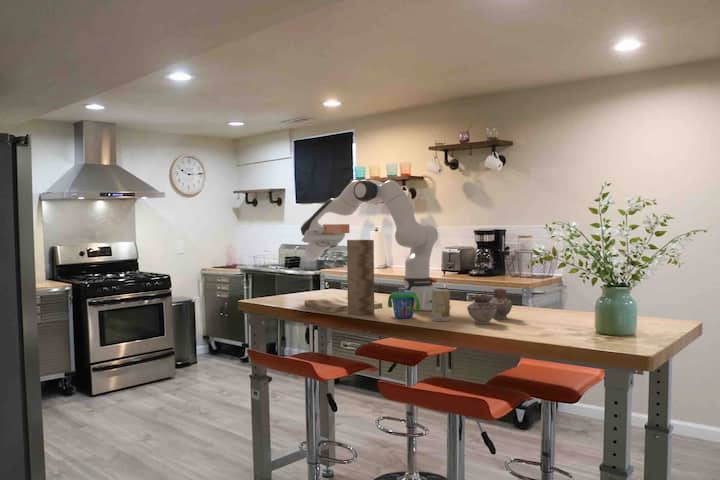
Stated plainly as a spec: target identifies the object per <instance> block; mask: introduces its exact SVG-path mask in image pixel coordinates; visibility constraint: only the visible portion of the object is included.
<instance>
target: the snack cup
mask: <svg viewBox="0 0 720 480" xmlns="http://www.w3.org/2000/svg"><path fill="white" fill-rule="evenodd" d="M415 302H416V307H415V310H414V303H415ZM387 307H388V308H389V309H391V308H392V307H393V308H392V309H393V314H394V317H395V318H398V319H411V318H412V317H413V316H414V311H416V312H418V311H420V310H419V309H420V303H419V299H418V297H417V296H416V293H415V292H405V291H394V292H390V294H389V296H388V300H387Z"/></svg>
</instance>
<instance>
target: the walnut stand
mask: <svg viewBox="0 0 720 480" xmlns="http://www.w3.org/2000/svg"><path fill="white" fill-rule="evenodd" d="M374 243H375V242H374V239H347V240H346V250H347V251H346V255H347V256H346V260H347V263H346V264H347V266H346V268H347V270H346V271H347V272H346V273H347V275H346V276H347V281H346V282H347V283H346V284H347V285H346V286H347V297H348V310H347V313H348V314H352V315H355V316H366V315H367V316H368V315H375V308H374V301H375V252H374V251H375V249H374V248H375V247H374V246H375V244H374Z"/></svg>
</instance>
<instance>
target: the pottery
mask: <svg viewBox="0 0 720 480" xmlns="http://www.w3.org/2000/svg"><path fill="white" fill-rule="evenodd" d="M493 292H494V293H493V294H494V297H492V299H491V295H486V294H475V295H473V296H474V297H473V301H474V302H472V303H470V304H469V305H468V306H467V307H466V309H467V312H468V315H469V316H470V317H471V319H473V321H474V324H477V325H489V324H490V321H491V320H492V319H496V320H507V319H508V317H507V315H509V314H510V312H511V310H512V308H513V304H514V303H513V301H511V300H510V299H508V298H507V297H506V295H507V294H506V293H507V289H506V288H494V289H493Z"/></svg>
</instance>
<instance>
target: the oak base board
mask: <svg viewBox="0 0 720 480" xmlns="http://www.w3.org/2000/svg"><path fill="white" fill-rule="evenodd" d="M304 305H306V306H309V307H311V308H314V309H317V310H319V311H321V312H322V311H323V312H325V313H332V312H333V313H334V312H335V313H336V312H346V311H347V312H348V296H346V297H344V296H343V297H332V298H331V297H330V298H319V299H318V298H317V299H315V298H314V299H305V300H304ZM381 308H383V303H382V302H378V301H375V300H374V309H381Z"/></svg>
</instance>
